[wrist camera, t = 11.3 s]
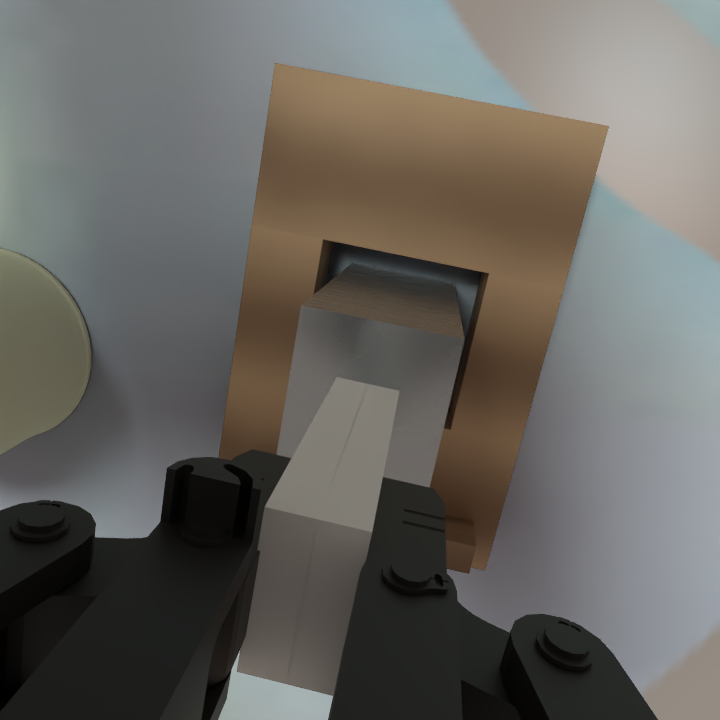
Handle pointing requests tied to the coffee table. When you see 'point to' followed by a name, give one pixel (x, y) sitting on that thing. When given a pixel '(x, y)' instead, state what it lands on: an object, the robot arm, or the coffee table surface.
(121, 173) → the coffee table surface
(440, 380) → the grey square block
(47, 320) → the can
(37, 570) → the robot arm
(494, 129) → the jig
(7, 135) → the coffee table surface
